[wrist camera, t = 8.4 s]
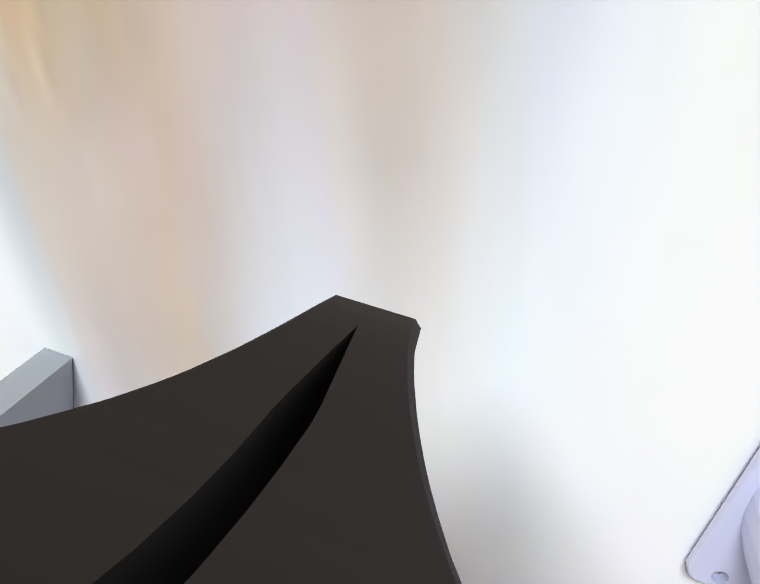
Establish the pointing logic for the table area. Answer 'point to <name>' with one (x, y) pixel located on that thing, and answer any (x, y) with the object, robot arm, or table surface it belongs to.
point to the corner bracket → (37, 388)
